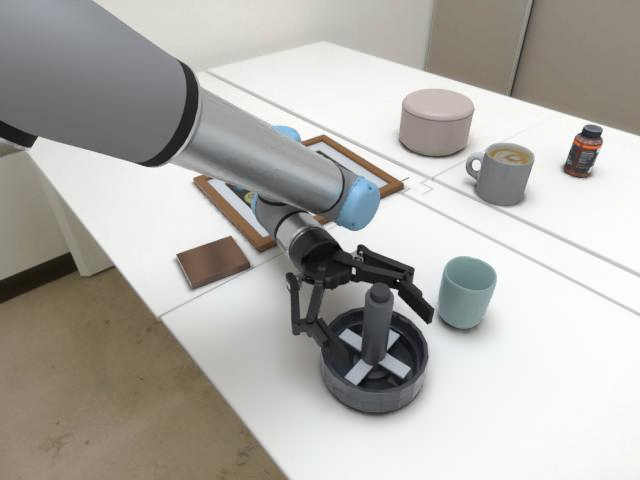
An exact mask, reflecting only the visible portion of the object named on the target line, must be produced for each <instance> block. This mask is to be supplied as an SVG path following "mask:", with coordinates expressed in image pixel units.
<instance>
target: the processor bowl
mask: <svg viewBox="0 0 640 480" xmlns="http://www.w3.org/2000/svg"><path fill="white" fill-rule="evenodd" d="M363 318H364V306H360V307H355V308H351V309H348V310H346V311H344V312H342V313H340V314H338V315H337V316H336V317H334V319H332V320H331V321H330V322H329V323H328V324H327V325H328V326H329V328H330V329H331V330H332V331H333V333H334V334H335V335H336V337H337V338H338V339H339V336H340V335H341V334H342V333H343V332H344V331H345V330H346V329H349V330H350V331H352V332H353V333H355V334H357V335H358V336H360V337H362V331H363ZM390 330H392V331H394V332H395V333H397V334H399V335H400V337H399V338H398V339H397V340H396V342H395V343H394V344H393V345H392V346H391V347H390V348H389V350H388V351H387V353H388V354H389V355H390V356H392V357H394V358H395V359H397V360H399V361H400V362H402V363H403V364H405V365H407V366H408V367H410V368H411V370H410V372H409V373H408V374H407V375H406V377H405V378H404V379H401V378H400V377H398V376H397V375H395V374H394V373H392V372H390V374H389V376H388V377H387V378H385V379H384V380H382V381H379V382H369V381H366V380H362V381H361V382H360V383H359V384H358V385H354V384H352V383H349V382H348V381H347V380H345V379H344V377H345V376H346V375H347V374H348V373H349V372H350V371H351V370H352V368H353V358H354V355H355V353H356V352H357V351H358V350H356V349H355V348H353V347H352V346H350V345H348V344H347V343H345V342H344V341H342V340H341V339H339V340H340V342H341V343H342V344H343V346H344V347H345V348H346V349H347V351H348V352H349V358H348V366H347V367H345V368H342V366H341V365H340V364H339V362H338V361H337V360H336V358H335V357H334V356H333V354H332V353H331V351H330V350H329V349H328V347H326V348H324V349H321V348H320V370H321V374H322V378H323V381H324V383H325V385H326V386H327V388H328V389H329V391H330V392H331V394H332V395H333V396H334V397H336V398H337V399H338V400H340V401H341V402H342V403H344V404H345V405H346V406H348V407H351V408H353V409H355V410H358V411H361V412H367V413H369V412H370V413H376V414H377V413H379V414H381V413H386V412H391V411H395V410H396V411H397V410H399V409H400V408H402V407H403V406H405V405H408V404H409V403H410V402H412V401H413V399H415V398H416V396H417V395H418V393H419V392H420V391H421V389H422V386H423V382H424V379H425V376H426V371H427V366H428V363H429V360H430V359H429V358H430V355H429V347H428V345H429V344H428V341H427V340H426V337H425V336H424V334H423V332H422V330H421V329H420V328H419V327H418V326H417V324H415V323H414V321H412V319H410V318H409V317H407V316H405V315H403V314H402V313H400V312H398V311H395V310H392V317H391V325H390Z"/></svg>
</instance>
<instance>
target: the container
mask: <svg viewBox="0 0 640 480" xmlns="http://www.w3.org/2000/svg"><path fill="white" fill-rule="evenodd" d="M475 109H476V108H475V104H474V102H473V100H471V98H470V97H468V96H467V95H465V94H463V93H461V92H457V91H454V90H450V89H445V88H444V89H443V88H423V89H417V90H414V91H411V92H410V93H408V94H407V95H405V97H404V98H403V100H402V102H401V110H400V111H401V112H400V122H399V130H398V139H399V140H400V142H401V143H402V145H404V146H405V147H406V148H408V149H409V150H410V151H412V152H414V153H417V154H419V155H423V156H429V157H445V156H450V155H453V154H455V153H457V152H458V151H460V150H462V149H464V148H465V147H466V146H467V144H468V139H469V135H470V131H471V126H472V123H473V118H474V113H475Z"/></svg>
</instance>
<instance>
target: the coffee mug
mask: <svg viewBox="0 0 640 480" xmlns="http://www.w3.org/2000/svg"><path fill="white" fill-rule="evenodd" d="M476 160H477V161H479V163H480V168H479V169H478V170H476V169H474V168H473V162H474V161H476ZM535 161H536V155H535V153H534V152H533V151H532V150H531V149H530V148H528V147H525V146H524V145H521V144H517V143H512V142H496V143H495V142H494V143H491V144H489V145H488V146H487V147H486V149H485V151H484V152H480V151H479V152H477V151H476V152H472V153H470V154H469V156H468V157H467V159H466V162H465V171H466V173H467V175H468V176H470V177H471V178H472V179H474V180H475V181H476V188H475V189H476V190H475V191H476V194H477V196H478V197H479V198H480V199H482V200H483V201H484V202H485V201H486V202H487V203H490V204H492V205H495V206H496V205H497V206H513V205H516V204H519V203H520V202H521V201H522V200H523V198H524V195H525V194H524V193H525V190H526V187H527V185H528V182H529V179H530V175H531V173H532V169H533V166H534V163H535Z"/></svg>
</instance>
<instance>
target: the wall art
mask: <svg viewBox="0 0 640 480" xmlns="http://www.w3.org/2000/svg"><path fill="white" fill-rule="evenodd" d="M301 143H302V145H304V146H306V147H308V148H309V149H311V150H313V151H315V152H316V153H318V154H320V155H322V156H323V157H325V158H327V159H329V160H330V161H332V162H333V163H335V164H337V165H339V166H341V167H343V168H344V169H346V170H348V171H350V172H352V173H354V174H356V175H358V176H363V177H364V178H365V179H367V180H369V181H371V182H373V183H374V184H376V185H377V186H378V188H379V191H380V200H381V199H383V198H385V197H388V196H390V195H392V194H394V193H396V192H398V191H401V190H403V189H404V186H405V183H404V182H402V181H401V180H399V179H397V178H396V177H394V176H393V175H391V174H389V173H388V172H386V171H385V170H383V169H381V168H380V167H378V166H376V165H375V164H373V163H372V162H370V161H368V160H366V159H365V158H364V157H362V156H361V155H359V154H357V153H355V152H354V151H352V150H351V149H349V148H347V147H346V146H345V145H342V144H341V143H339V142H337V141H336V140H334V139H333V138H331V137H329V136H328V135H326V134H324V133H323V134H320V135H317V136H314V137H311V138H308V139H305V140H303V141H302V140H301ZM192 181H193V184H194V185H195V186H196V187H197V188H198V189H199V190H200V191H201V192H202V193H203V194H204V195H205V196H206V197H207V198H208V199H209V200H210V201H211V202H212V204H214V205H215V207H216V208H218V210H219V211H220V212H221V213H222V214H223V215H224V216H225V217H226V218H227V219H228V220H229V221H230V222H231V223H232V224H233V226H234V227H236V229H237V230H238V231H239V232H240V233H241V234H242V235H243V237H245V238H246V239H247V240H248V242H250V243H251V244H252V246H254V247H255V249H256V250H257V251H258V252H259V253H261V252H263V251H265V250H269V249H270V248H272V247H275V246H278V245H277V243H276V242H275V241H274V240H273V239H272V237H271V236H270V235H269V234H268V233H267V232H266V230H265V229H264V228H263V227H262V226H261V225H260V224H259V222H258V221H257V220H256V217H255V216H254V214H253V212H252V209H251V201H252V199H253V196H254V194H255V193H254V192H251V191H248V190H246V189H243V188H240V187H237V186H234V185H231V184H228V183H225V182H223V181H220V180H217V179H214V178H211V177H208V176H205V175H202V174H200V175H198V176H195V177H193V178H192ZM308 212H309V211H308ZM309 213H310V214H311V215H312V216H313V217H314V218H315V219H316V220H317V221H318V222H319V223H320V224H321V225H322V226H323V225H325V224H326V223H329V222H332V221H331V220H329V219H326V218H324V217H321V216H318V215H316V214H313V213H311V212H309Z"/></svg>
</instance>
